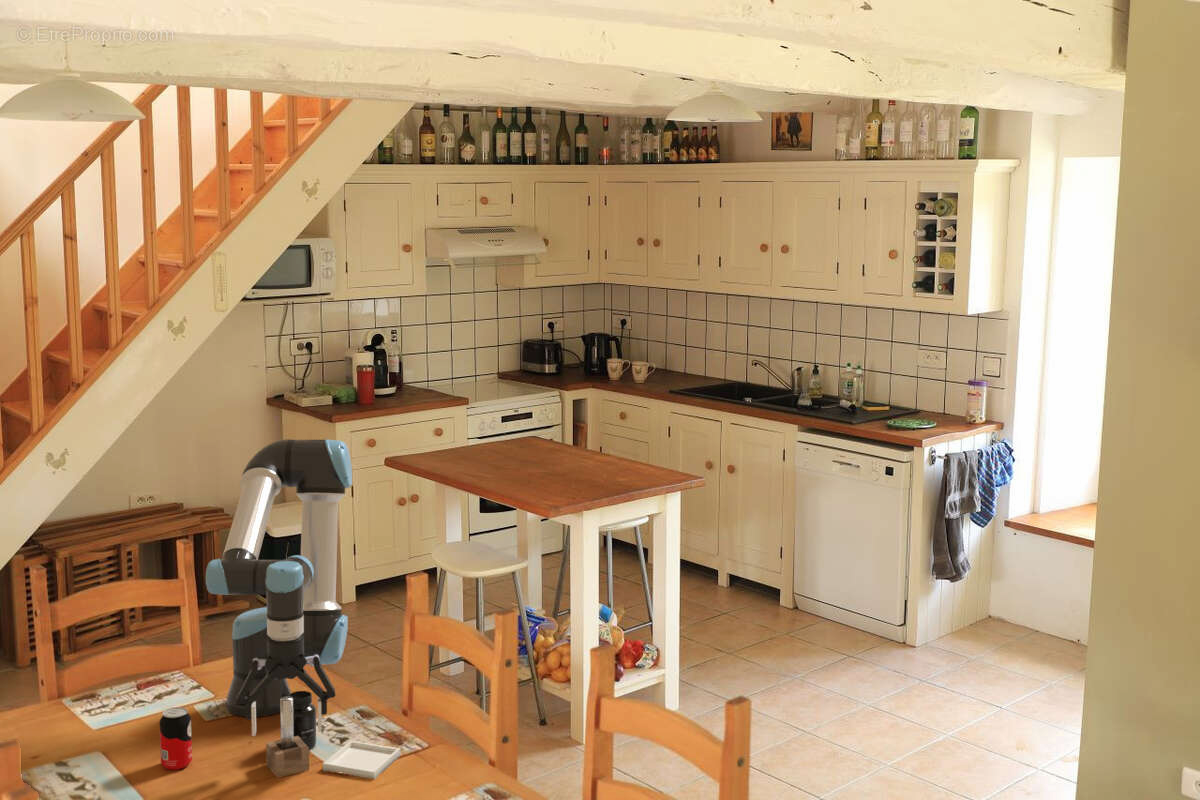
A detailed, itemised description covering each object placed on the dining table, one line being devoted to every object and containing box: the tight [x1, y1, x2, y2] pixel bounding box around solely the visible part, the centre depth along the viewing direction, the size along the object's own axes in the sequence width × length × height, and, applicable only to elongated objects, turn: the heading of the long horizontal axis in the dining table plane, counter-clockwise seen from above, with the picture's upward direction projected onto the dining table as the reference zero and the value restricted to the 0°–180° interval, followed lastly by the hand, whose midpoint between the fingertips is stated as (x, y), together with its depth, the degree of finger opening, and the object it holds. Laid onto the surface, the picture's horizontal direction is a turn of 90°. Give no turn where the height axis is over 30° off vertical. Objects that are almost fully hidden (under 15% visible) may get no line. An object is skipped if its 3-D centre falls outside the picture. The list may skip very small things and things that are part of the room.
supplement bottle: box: [290, 690, 317, 750], centre depth 266 cm, size 7×7×12 cm
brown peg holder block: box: [265, 736, 310, 778], centre depth 256 cm, size 7×7×5 cm
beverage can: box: [159, 706, 193, 771], centre depth 255 cm, size 6×6×12 cm
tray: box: [322, 740, 401, 780], centre depth 259 cm, size 12×12×2 cm
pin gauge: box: [280, 696, 294, 750], centre depth 255 cm, size 3×3×14 cm
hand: (287, 731), depth 255 cm, fingers open, 13 cm apart
